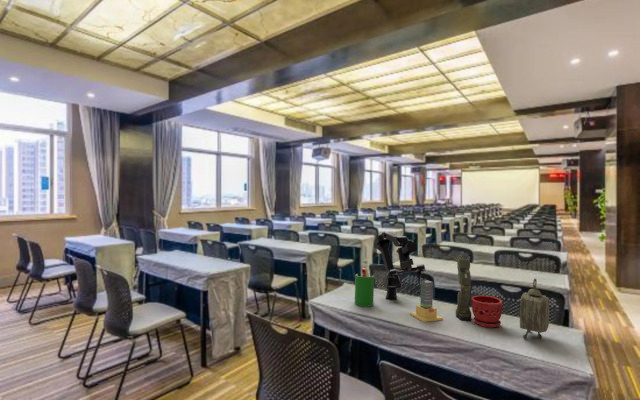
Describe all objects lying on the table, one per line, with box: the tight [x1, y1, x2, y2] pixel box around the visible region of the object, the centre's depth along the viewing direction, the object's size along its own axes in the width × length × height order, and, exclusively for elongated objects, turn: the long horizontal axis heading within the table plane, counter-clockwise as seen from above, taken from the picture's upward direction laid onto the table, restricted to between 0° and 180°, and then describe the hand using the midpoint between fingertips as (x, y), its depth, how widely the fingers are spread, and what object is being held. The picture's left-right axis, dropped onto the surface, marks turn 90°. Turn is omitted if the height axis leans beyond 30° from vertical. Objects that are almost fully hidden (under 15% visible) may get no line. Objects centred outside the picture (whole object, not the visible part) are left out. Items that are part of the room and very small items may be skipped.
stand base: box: [409, 304, 443, 323], centre depth 168 cm, size 11×11×5 cm
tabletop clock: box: [519, 278, 550, 340], centre depth 146 cm, size 14×9×25 cm, turn 141°
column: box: [419, 279, 434, 307], centre depth 168 cm, size 4×4×12 cm
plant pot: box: [470, 295, 503, 329], centre depth 160 cm, size 13×13×12 cm
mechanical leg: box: [455, 257, 472, 322], centre depth 171 cm, size 14×7×30 cm, turn 169°
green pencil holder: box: [354, 267, 375, 307], centre depth 186 cm, size 10×9×20 cm
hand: (410, 286), depth 178 cm, fingers open, 9 cm apart
